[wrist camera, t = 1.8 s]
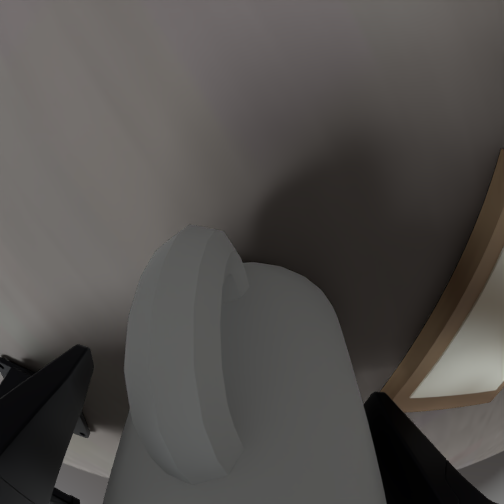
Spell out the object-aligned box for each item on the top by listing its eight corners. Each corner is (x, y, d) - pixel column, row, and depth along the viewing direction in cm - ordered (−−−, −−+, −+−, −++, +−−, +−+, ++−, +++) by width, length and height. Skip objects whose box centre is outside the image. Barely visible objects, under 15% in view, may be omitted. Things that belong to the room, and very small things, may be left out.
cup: (196, 391, 15) (172, 555, 7) (111, 208, 10) (-63, 409, 2) (339, 371, 14) (373, 546, 6) (317, 160, 9) (503, 408, 2)
